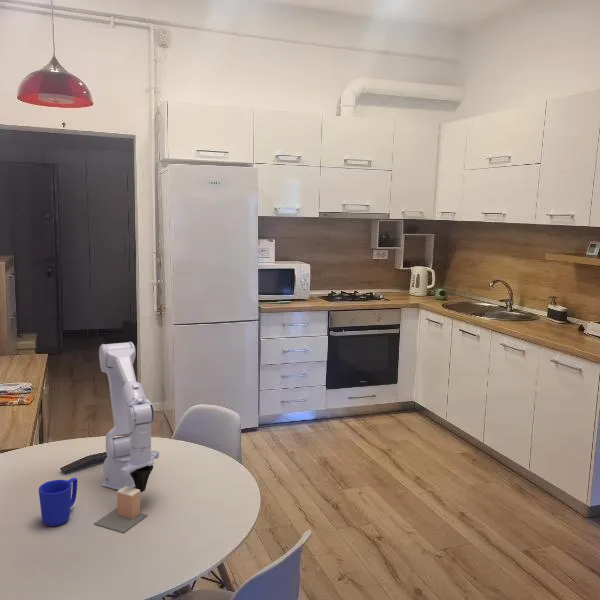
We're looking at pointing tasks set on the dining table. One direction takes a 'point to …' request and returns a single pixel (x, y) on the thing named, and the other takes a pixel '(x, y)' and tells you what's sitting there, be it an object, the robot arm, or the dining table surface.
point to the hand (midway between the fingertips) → (140, 490)
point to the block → (128, 502)
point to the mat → (119, 521)
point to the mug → (57, 500)
